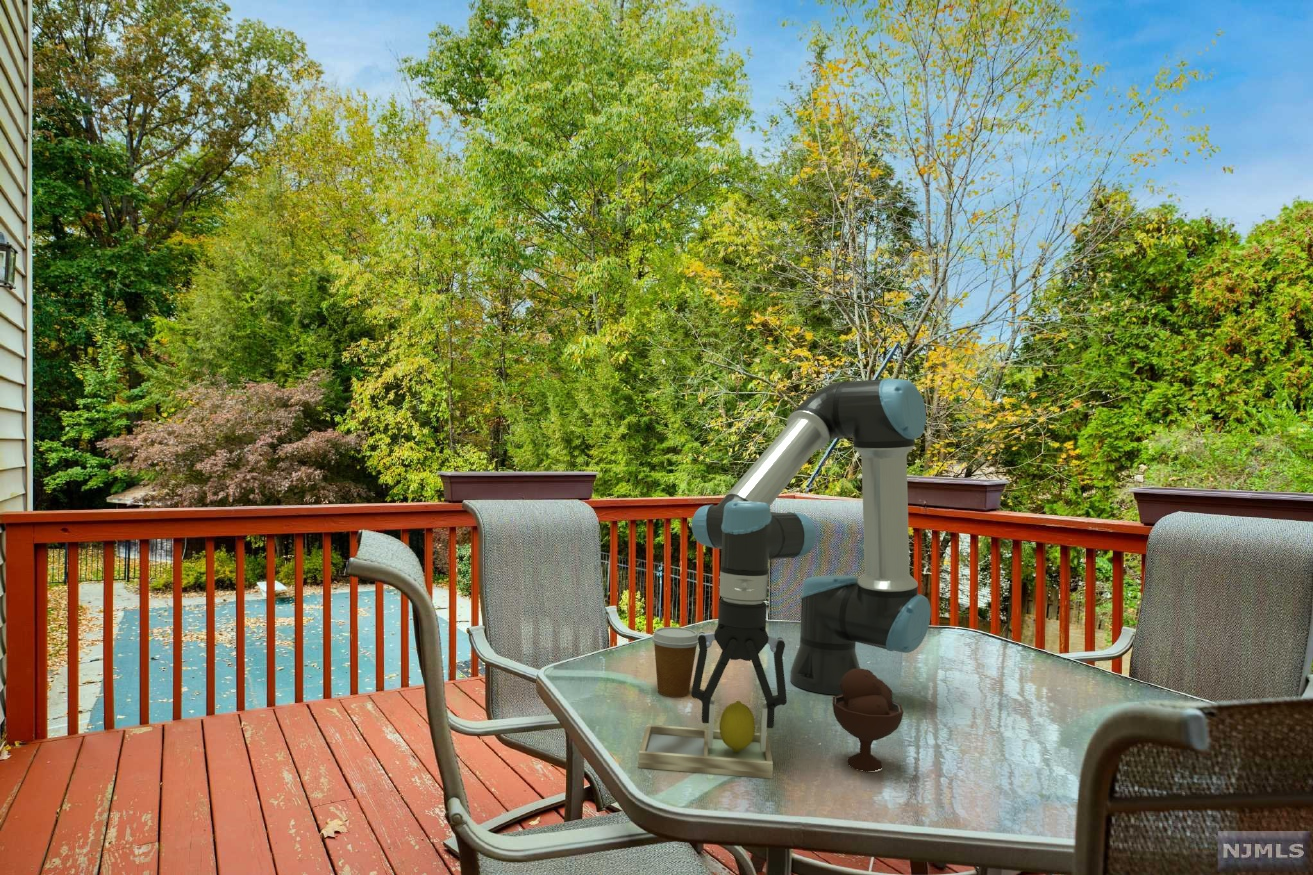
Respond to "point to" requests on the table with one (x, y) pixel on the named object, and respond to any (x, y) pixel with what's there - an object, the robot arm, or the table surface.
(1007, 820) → the table surface
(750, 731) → the lemon
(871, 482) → the robot arm
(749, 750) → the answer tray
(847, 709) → the ice cream bowl
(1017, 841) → the table surface
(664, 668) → the disposable coffee cup
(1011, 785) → the table surface
